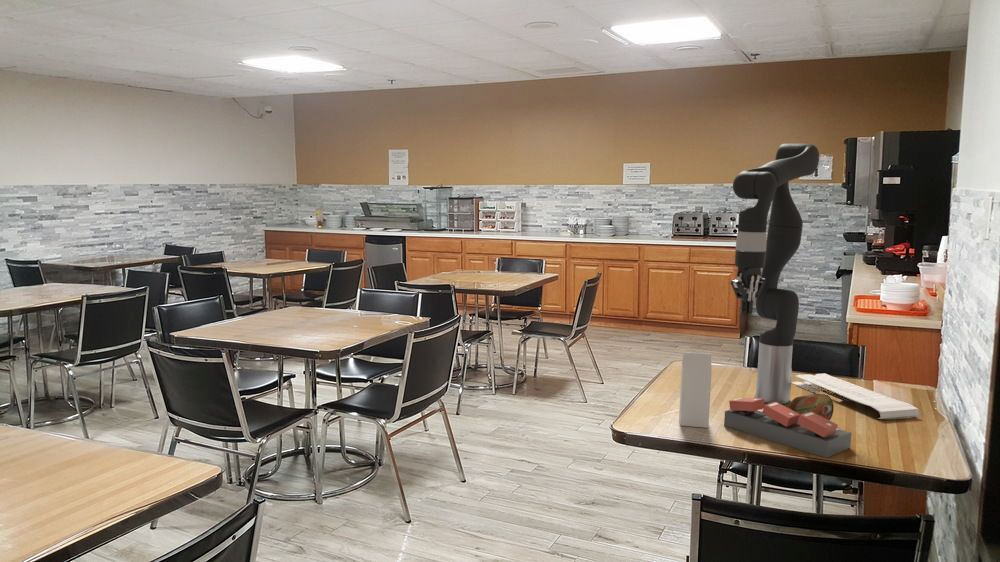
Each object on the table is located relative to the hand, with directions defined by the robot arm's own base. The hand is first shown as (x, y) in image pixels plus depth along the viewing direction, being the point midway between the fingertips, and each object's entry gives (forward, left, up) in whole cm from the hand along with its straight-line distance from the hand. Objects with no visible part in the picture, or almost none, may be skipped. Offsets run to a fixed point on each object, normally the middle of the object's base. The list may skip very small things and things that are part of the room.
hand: (746, 314), depth 191 cm
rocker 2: (+4, +14, -23) cm, 27 cm away
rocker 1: (+4, +5, -23) cm, 24 cm away
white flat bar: (-46, +7, -30) cm, 55 cm away
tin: (-12, +13, -29) cm, 34 cm away
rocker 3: (+4, +24, -23) cm, 33 cm away
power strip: (+2, +14, -29) cm, 32 cm away
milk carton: (+12, -6, -29) cm, 32 cm away
